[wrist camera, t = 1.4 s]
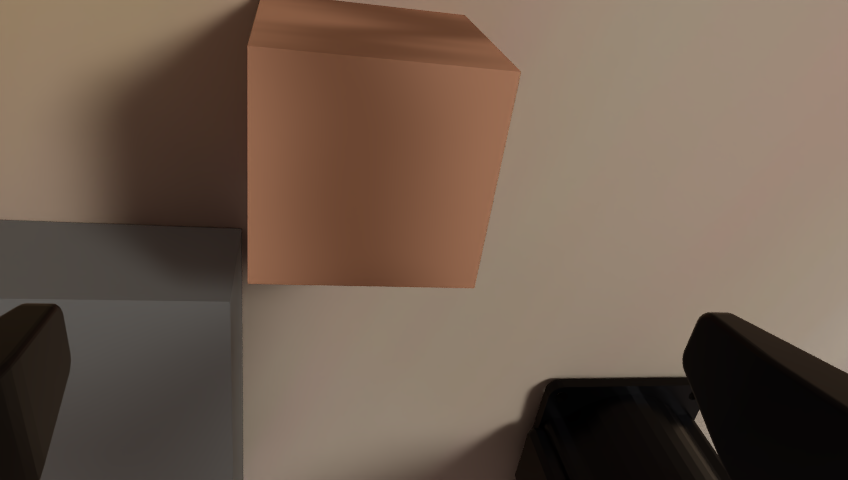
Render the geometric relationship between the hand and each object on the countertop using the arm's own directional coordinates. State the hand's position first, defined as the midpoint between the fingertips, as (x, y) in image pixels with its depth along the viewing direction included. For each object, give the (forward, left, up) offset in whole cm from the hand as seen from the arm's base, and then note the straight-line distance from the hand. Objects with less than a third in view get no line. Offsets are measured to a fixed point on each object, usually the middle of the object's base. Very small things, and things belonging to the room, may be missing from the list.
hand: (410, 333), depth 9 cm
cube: (0, 0, -10) cm, 10 cm away
